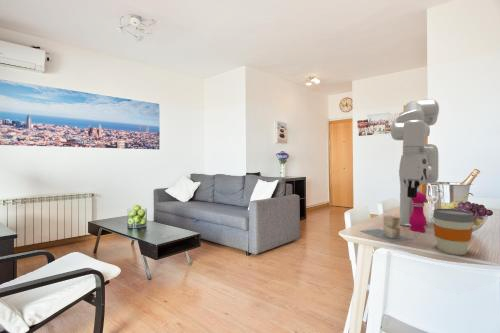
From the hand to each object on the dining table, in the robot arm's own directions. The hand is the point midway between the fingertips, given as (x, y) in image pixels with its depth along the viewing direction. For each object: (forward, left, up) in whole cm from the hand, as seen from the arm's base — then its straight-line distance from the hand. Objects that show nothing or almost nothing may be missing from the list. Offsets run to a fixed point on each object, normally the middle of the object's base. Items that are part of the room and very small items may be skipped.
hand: (412, 197), depth 114 cm
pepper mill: (-22, -15, -20) cm, 33 cm away
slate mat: (0, -13, -19) cm, 23 cm away
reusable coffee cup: (-9, +10, -20) cm, 24 cm away
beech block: (0, -10, -19) cm, 21 cm away
